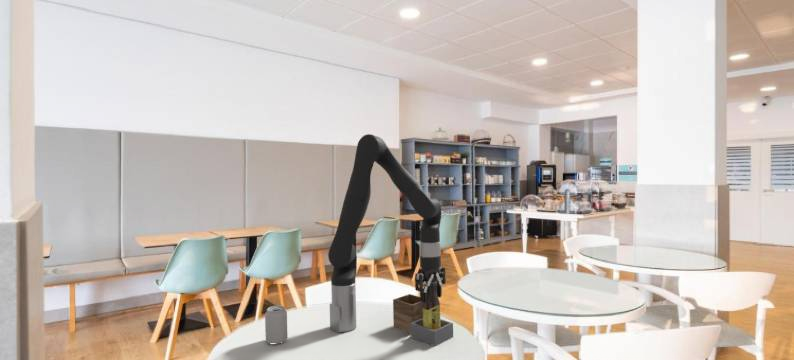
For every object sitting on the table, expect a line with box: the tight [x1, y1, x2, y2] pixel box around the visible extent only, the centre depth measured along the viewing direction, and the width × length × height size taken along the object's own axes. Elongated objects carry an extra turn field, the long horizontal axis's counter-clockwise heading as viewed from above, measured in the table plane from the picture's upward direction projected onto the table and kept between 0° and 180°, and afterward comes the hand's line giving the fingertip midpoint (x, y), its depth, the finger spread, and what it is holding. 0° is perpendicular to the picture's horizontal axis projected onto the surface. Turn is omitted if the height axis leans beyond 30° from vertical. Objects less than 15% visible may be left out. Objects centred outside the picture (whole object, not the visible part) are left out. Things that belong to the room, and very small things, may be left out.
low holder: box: [410, 318, 454, 347], centre depth 141 cm, size 10×11×5 cm
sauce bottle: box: [423, 282, 441, 330], centre depth 141 cm, size 6×6×20 cm
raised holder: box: [392, 293, 423, 334], centre depth 151 cm, size 9×10×10 cm
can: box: [264, 305, 288, 344], centre depth 141 cm, size 8×8×12 cm
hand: (431, 299), depth 141 cm, fingers open, 7 cm apart
